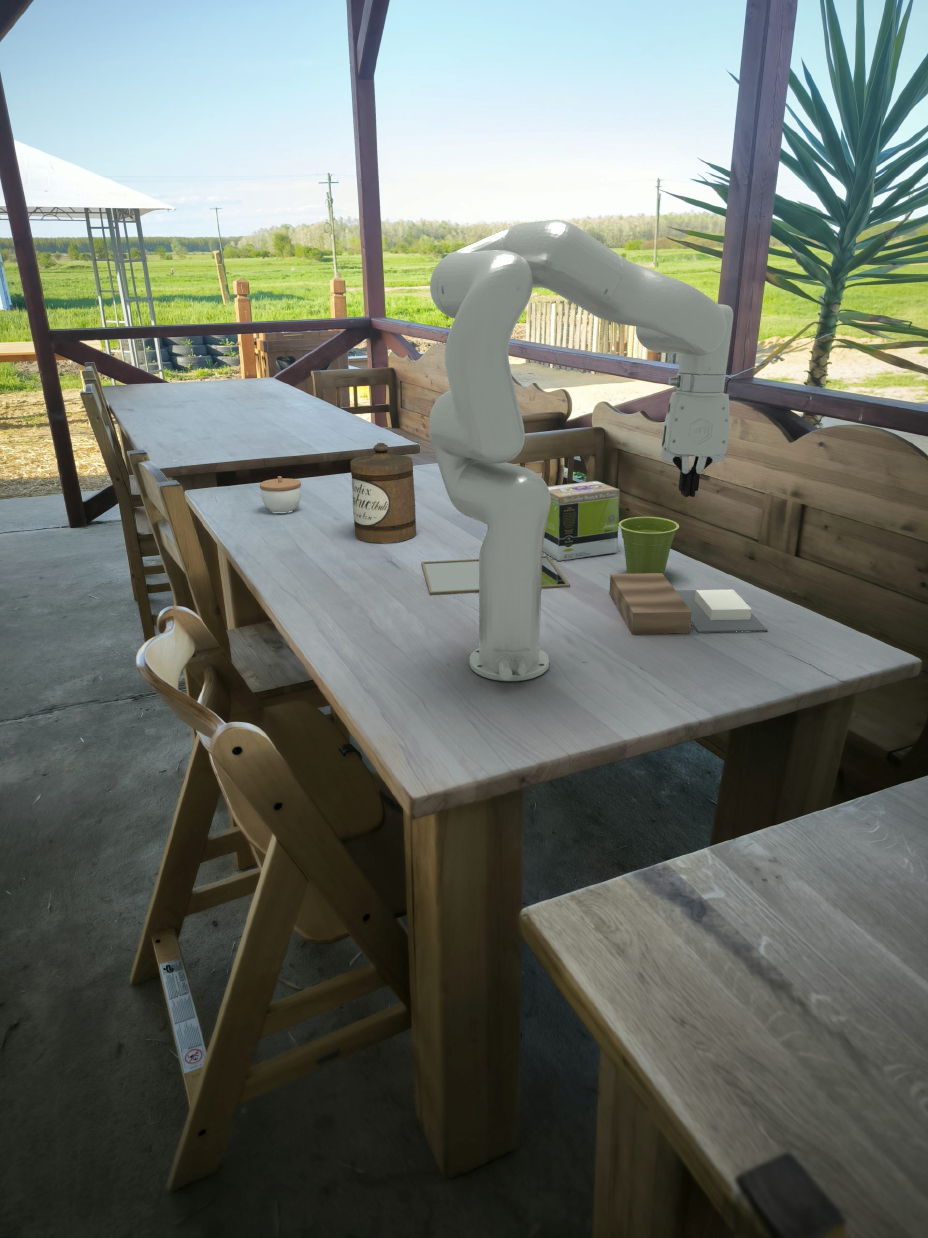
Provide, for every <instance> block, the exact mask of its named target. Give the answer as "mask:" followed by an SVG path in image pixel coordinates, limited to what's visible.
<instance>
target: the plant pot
mask: <svg viewBox="0 0 928 1238" xmlns="http://www.w3.org/2000/svg"><path fill="white" fill-rule="evenodd" d="M618 528H620V531H621V538H622V541H623V547H624V558H625V565H626V566H625V567H626V574H643V573H662V574H663V575H664V576H665V572H666V567H667V565H668V564H667V563H668V561H669V560H668V559H669V556H670V551H671V548H672V544H673V543H672V542H673V541H674V538H675V535H676V532H677V531H678V529H679V528H680V525H679V523H677V522H676V521H674V520H671V519H668V518H663V517H658V516H657V517H656V516H636V517H629V518H626V519H625V518H624V519H623V520H621V521H619V524H618Z"/></svg>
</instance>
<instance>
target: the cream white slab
mask: <svg viewBox="0 0 928 1238" xmlns="http://www.w3.org/2000/svg"><path fill="white" fill-rule="evenodd" d="M728 589H729V588H728ZM695 590H696V594H695V601H696V602H697V603H698V605H699V606H700V607H701V608H702V610H703V611H704V612H705V613H706V615H707V616H708V617H709V618H710V620H750V617H751V613H752V610H753V609H752V607H750V605H748V604H747V602H746V601H744V600H743V598H742V597H741V596H740V595H739V594H738V593H737V592H736V591H735V590H734V589H729V590H721V589H695Z"/></svg>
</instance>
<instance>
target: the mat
mask: <svg viewBox="0 0 928 1238" xmlns="http://www.w3.org/2000/svg"><path fill="white" fill-rule="evenodd" d="M696 590H697V589H686V590H685V589H681V590H678V589H677V590H676V589H675V591H676V592H677V593H678V594H679V596H680V597H681V598H682V600H683V601H684V602H685V603H686V605H687V606H688V607H689V609H690V610H691V611H692V615H691V623H692V624H693V625H692V624H691V625H692V627H693V626H694V627H695V628H694V627H693V628H694V630H695V631H696V630H697V631H696V632H697V634H710V633H709V632H730V633H742V632H741V631H767V632H768V628H767V627H766V626H765V625H764V624H763V623H762V622H761V621H760V620H759V619H758V618H757V617H756V616H755V615H754V614H753V613H752V612H751V617H750V620H710V618H709V617H708V616H707V615H706V613H705V612H704V611H703V610H702V608H701V607H700V606H699V605H698V603H697V602H696V601H695V594H696ZM720 590H729V588H728V589H720ZM736 631H737V632H736ZM705 632H706V633H705ZM707 632H708V633H707Z"/></svg>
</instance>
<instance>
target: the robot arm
mask: <svg viewBox="0 0 928 1238" xmlns="http://www.w3.org/2000/svg"><path fill="white" fill-rule="evenodd" d="M533 288H534V289H535V288H536V289H538V288H539V289H540V288H541V289H545V290H549V291H551V292H553V293H554V294H556V295H559V296H560V297H562V298H563V299H565V300H567V301H569V302H570V303H572V304H574V305H576V306H577V307H579V308H581V309H582V310H584V311H586V312H587V313H589V314H591V315H593V317H594V316H595V317H596V318H598V319H601V320H604V321H607V322H611V323H614V324H618V325H623V326H624V325H626V326H631V327H635V334H636V335H635V336H636V338H637V341H638V342H639V344H640V345H641V346H642V347H643V348H646V349H647V350H649V351H652V352H655V353H661V354H673V355H674V354H679V360H678V361H679V362H678V371H677V372H676V375H674V376H669V377H668V386H673V387H674V388H675V391H672V393H671V395H670V399H669V402H668V405H667V406H668V407H667V410H666V414H665V415H666V416H665V417H664V425H663V429H662V436H661V437H662V438H661V451H660V454H659V459H661V460H662V461H665V462H668V463H672V464H674V466H676V468H677V469H678V470H679V471H680V472H679V480H678V491H679V492H680V494H681V495H682V496H683V497H685V498H689V497H691V498H695V496H696V492H698V491H699V487H700V478H701V474H702V473H703V472H704V470H706V468H708V467H709V466H710V465H711V464H715V463H720V462H723V461H725V454H726V453H727V450H728V444H729V436H730V396H729V394H728V393H724V391H725V384H726V376H727V367H728V360H729V353H730V346H731V336H732V331H733V330H732V328H733V324H734V323H733V322H734V310H733V309H732V307H731V306H730V305H727V304H722V303H718V302H716V301H715V300H714V299H712V298H710V296H708V295H707V294H705V293H704V292H702V291H701V290H699V289H698V288H696V287H694V286H692V285H691V284H688V283H686V282H684V281H681V280H679V279H677V278H674V277H671V276H668V275H666V274H663V273H660V272H658V271H655V270H652V269H650V268H648V267H645V266H643V265H640V264H636V263H634V262H632V261H630V260H628V259H626V258H625V257H624V256H621V255H620V254H619V253H617V252H616V251H614V249H611V248H610V247H608V246H606V245H605V244H603V242H601V241H599V240H597V239H596V238H595V237H594V236H592V235H590V234H589V233H587V232H586V231H584V230H583V229H581V228H579V227H578V226H577V225H575V224H573V223H571V222H569V221H566V220H560V219H549V220H541V221H528V222H521V223H518V224H515V225H511V226H509V227H506V228H504V229H503V230H499V231H498V232H496V233H493V234H491V235H489V236H487V237H485V238H482V239H480V240H478V241H476V242H473V243H471V244H469V245H466V246H464V247H462V248H460V249H457V250H455V251H453V252H451V253H449V254H447V255H445V256H444V257H443V258H442V259H441V260H440V261H439V262H438V263H437V264H436V266H435V267H434V269H433V271H432V275H431V277H430V283H429V289H430V290H429V291H430V296H431V297H430V298H432V301H433V303H434V305H435V306H436V308H437V309H438V310H439V311H440V312H441V313H442V314H444V316H447V317H449V318H452V319H454V320H453V322H452V324H451V327H450V330H449V332H448V335H447V339H446V342H445V349H444V365H445V373H446V377H447V380H448V381H447V382H448V385H449V389H450V390H447V391H446V392H444V393H442V394H441V395H440V396H439V397H438V398H437V399H436V400H435V402H434V404H433V405H432V408H431V410H430V413H429V419H428V431H429V432H428V433H429V438H430V441H431V446H432V449H433V452H434V455H435V459H436V463H437V464H438V465H437V466H438V468H439V471H440V475H441V479H442V481H443V484H444V488H445V490H446V494H447V496H448V498H449V500H450V502H451V505H453V507H454V508H455V509H456V510H457V511H458V512H459V513H461V514H462V515H464V516H466V517H468V518H469V519H473V520H475V521H478V522H481V523H482V524H485V525H487V531H486V534H485V537H484V539H483V540H482V543H481V547H480V550H479V558H478V559H479V593H478V614H479V615H478V640H479V641H478V648H476V649H475V650H473V651H472V652H471V653H470V655H469V667H470V668H471V670H472V671H473V672H475V673H476V674H477V675H478V676H480V677H482V678H486V679H489V680H493V681H499V682H520V681H521V682H522V681H528V680H531V679H534V678H538V677H539V676H541V675H543V674H544V673H546V672H547V670H548V669H549V667H550V656H549V655H548V654H547V653H546V652H545V651H544V650H543V649H542V648H541V647H540V646H541V644H540V643H541V642H540V641H541V615H542V614H541V609H542V589H541V581H542V556H543V553H544V552H543V541H544V534H545V529H546V525H547V520H548V516H549V512H550V505H551V497H550V492H549V489H548V487H549V486H548V485H547V483H546V481H545V480H544V479H543V478H542V477H541V476H540V475H539V473H536V472H535V471H533V470H532V469H529V468H526V467H524V466H521V465H517V464H514V463H510V462H511V461H513V460H514V459H516V457H518V455H520V454H521V451H522V450H523V448H524V444H525V440H526V439H525V437H526V436H525V434H526V432H525V425H524V421H523V416H522V412H521V408H520V404H519V400H518V396H517V395H518V394H517V392H516V388H515V385H514V384H515V383H514V380H513V376H512V371H511V370H512V369H511V365H510V359H509V358H510V357H509V348H510V342H511V338H512V335H513V332H514V329H515V328H516V324H517V323H518V321H519V319H520V317H521V316H522V314H523V313H524V311H525V310H526V308H527V306H528V304H529V303H530V300H531V296H532V293H533ZM690 457H694V458H693V461H692V465H691V468H690Z"/></svg>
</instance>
